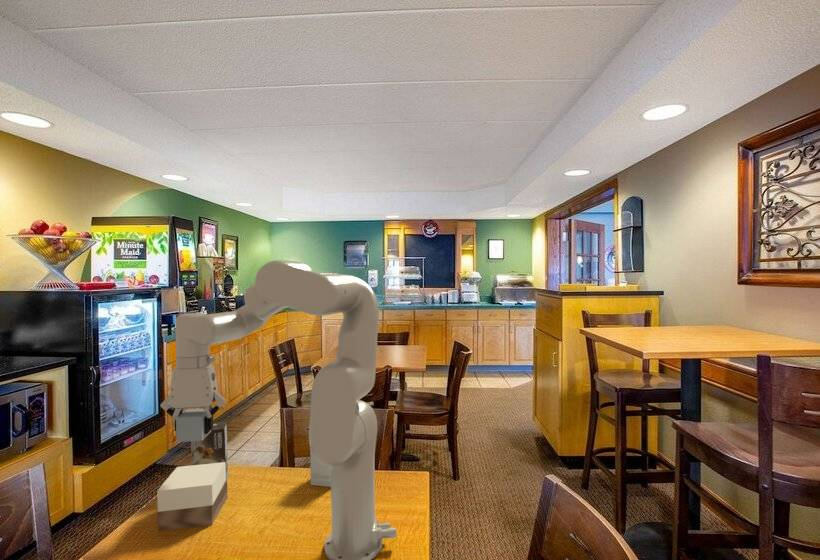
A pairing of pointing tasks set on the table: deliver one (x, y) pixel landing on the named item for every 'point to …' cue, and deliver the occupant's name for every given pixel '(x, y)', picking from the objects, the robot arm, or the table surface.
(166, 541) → the table surface
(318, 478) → the supplement box
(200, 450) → the coffee box
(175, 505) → the tower top block
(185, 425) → the stack block
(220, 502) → the tower base block
